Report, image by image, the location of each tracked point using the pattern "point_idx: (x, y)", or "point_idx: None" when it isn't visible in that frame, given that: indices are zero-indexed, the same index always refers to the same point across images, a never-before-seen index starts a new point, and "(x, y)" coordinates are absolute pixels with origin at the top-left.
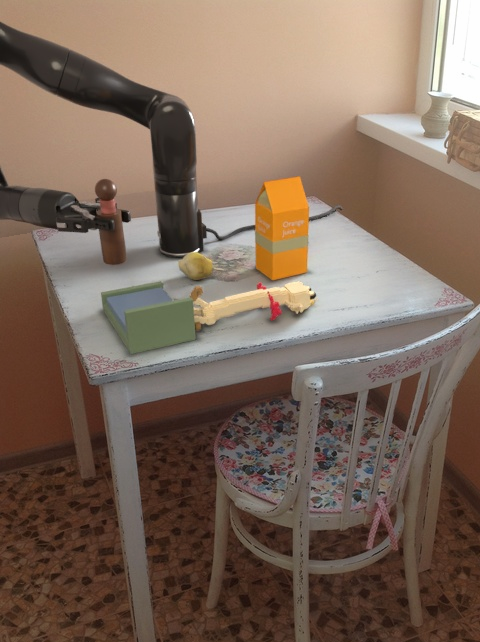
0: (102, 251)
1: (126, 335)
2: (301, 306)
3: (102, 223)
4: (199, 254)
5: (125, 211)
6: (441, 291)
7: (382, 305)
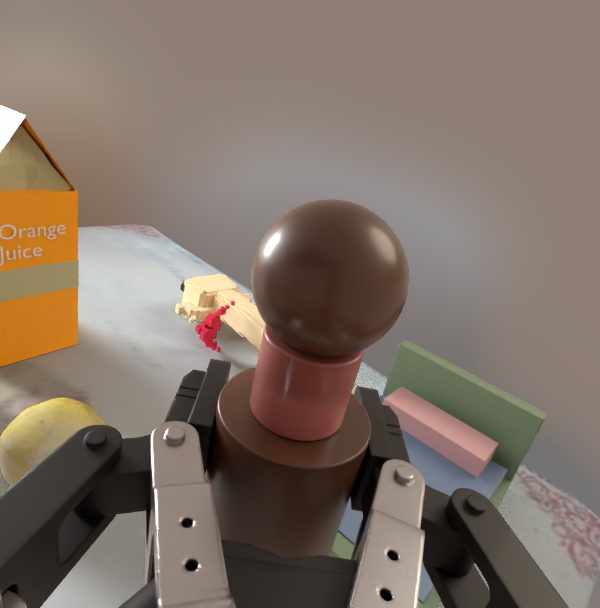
0: None
1: (497, 492)
2: (247, 294)
3: (399, 431)
4: (62, 398)
5: (227, 365)
6: (113, 229)
7: (168, 262)
